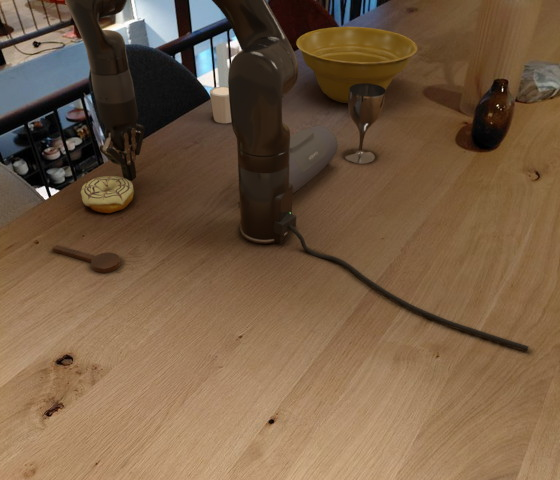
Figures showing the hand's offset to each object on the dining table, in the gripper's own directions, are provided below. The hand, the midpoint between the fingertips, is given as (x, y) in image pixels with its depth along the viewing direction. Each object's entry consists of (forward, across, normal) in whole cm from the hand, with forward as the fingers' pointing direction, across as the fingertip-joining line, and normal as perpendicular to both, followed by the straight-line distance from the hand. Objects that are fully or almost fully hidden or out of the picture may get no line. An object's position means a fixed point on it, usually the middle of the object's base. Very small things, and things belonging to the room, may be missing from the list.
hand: (130, 178), depth 121 cm
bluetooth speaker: (-8, +17, -31) cm, 36 cm away
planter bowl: (+3, +71, -25) cm, 76 cm away
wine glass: (+2, +36, -40) cm, 53 cm away
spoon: (+2, -26, -8) cm, 27 cm away
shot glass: (+3, +41, -1) cm, 41 cm away
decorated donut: (+2, -7, +1) cm, 7 cm away
